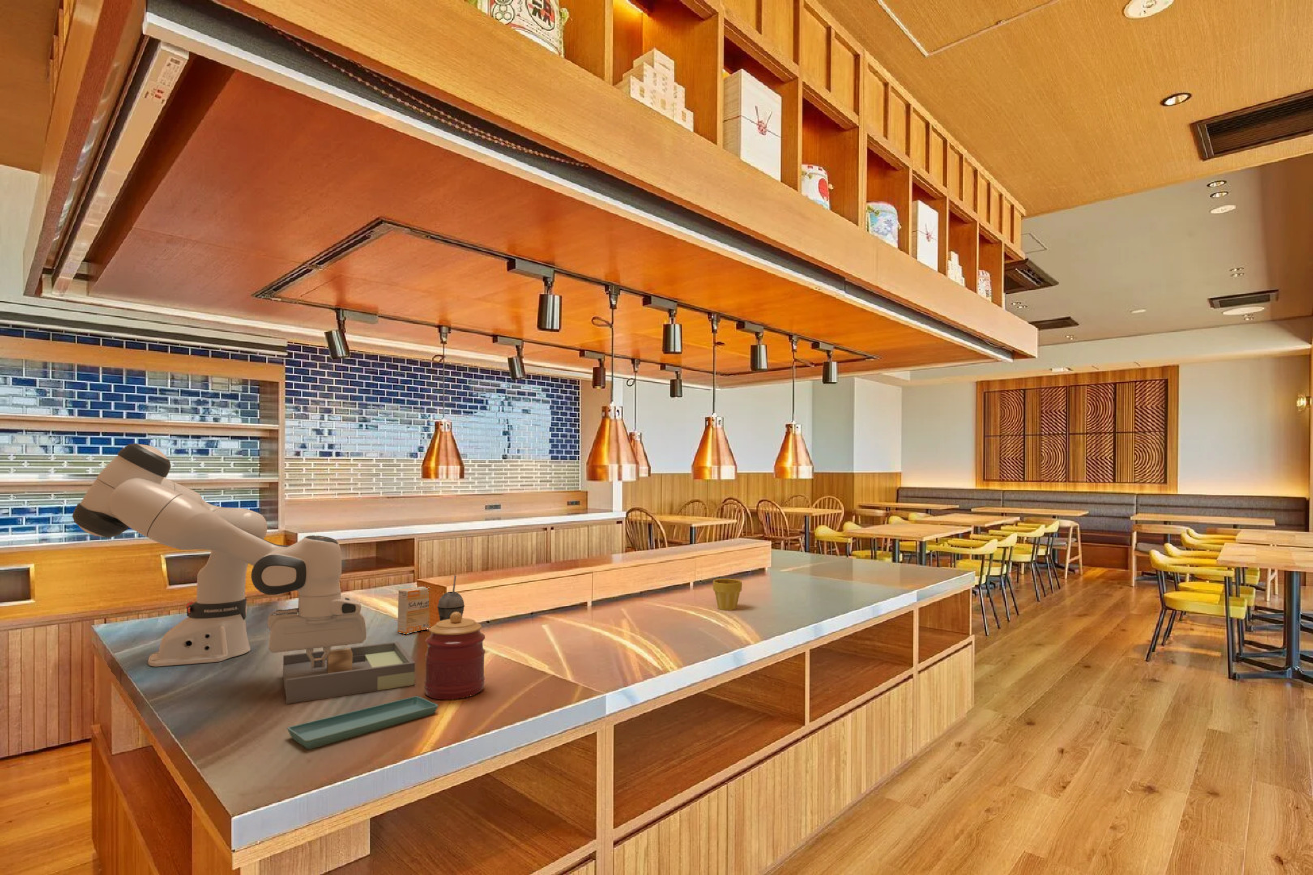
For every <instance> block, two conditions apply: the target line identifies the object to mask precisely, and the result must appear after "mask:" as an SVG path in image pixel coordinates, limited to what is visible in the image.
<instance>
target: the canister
mask: <svg viewBox="0 0 1313 875" xmlns="http://www.w3.org/2000/svg"><path fill="white" fill-rule="evenodd" d="M481 629H482V624H480V623H478V622H476V620H474V619H473V618H463V614H462V615H461V613H459V612H453V613H452V614H451V616H450V619H447V620H442V621H440V620H439V621H437V622H436V623H435V624H434V625H432V626H431V627H429V632H430V633H431V634H430V635H429V636H427V637H426V638H425V641H424V642H425V643H426V645H427V652H426V653H425V654H424V659H425V681H424V690H425V695H426V696H428V697H429V698H431V699H435V700H445V701H446V700H447V701H449V700H460V699H459V698H461V699H464V698H463V697H466V698H468V697H467V696H470V695H473V696H475V695H474V694H476V695H478V694H479V693H478V692H480V691H481V690H482V689H483V690H484V686H485V682H486V681H485V654H486V650H485V648H484V641H485V639H486V635H485V634H484V633H483V632H482V631H480V630H481ZM483 690H482V691H483ZM482 691H481V692H482ZM481 692H480V693H481ZM477 693H478V694H477ZM470 697H471V696H470Z"/></svg>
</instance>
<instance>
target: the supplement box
mask: <svg viewBox="0 0 1313 875" xmlns="http://www.w3.org/2000/svg"><path fill="white" fill-rule="evenodd" d="M428 588H429V587H428ZM428 588H426V586H418V587H411V588H405V589H398V597H397V598H398V599H397V600H398V602H397V633H398V632H401V633H405V634H407V633H410V632H414V631H420V630H425V629H427V628H429V629H430V611H429V595H428V594H429V592H428V591H429V590H428ZM428 621H429V623H428Z"/></svg>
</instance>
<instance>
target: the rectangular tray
mask: <svg viewBox="0 0 1313 875" xmlns="http://www.w3.org/2000/svg"><path fill="white" fill-rule="evenodd" d="M438 707H439V704H437V703H435V702H432V701H430V700H428V699H426V698H423V697H421V696H420V695H419V696H417V695H415V696H410V697H406V698H401V699H397V700H394V701H391V702H386V703H382V704H377V705H374V706H370V707H365V708H362V709H358V710H353V711H348V712H345V713H341V714H337V715H333V716H329V717H324V718H321V719H316V720H313V721H308V722H304V723H301V724H296V725H292V726H288V727H287V728H286V729H287V731H288V733H289V735H290V736H291V739H293V740H294V741H295V742H297V743H299V744H300V745H302V746H303V747H304V748H306V749H307V750H311V749H312V750H313V749H316V748H318V747H322V746H326V745H328V744H332V743H337V742H340V741H344V740H346V739H351V738H353V737H358V736H362V735H365V734H367V733H370V732H371V733H372V732H375V731H378V730H383V729H386V728H389V727H393V726H395V725H396V726H397V725H398V724H399V725H400V724H403V723H406V722H409V721H413V720H416V719H420V718H423V717H427V716H432V715H433V714H435V713H436V711H437V709H438Z"/></svg>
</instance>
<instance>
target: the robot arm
mask: <svg viewBox="0 0 1313 875" xmlns="http://www.w3.org/2000/svg"><path fill="white" fill-rule="evenodd" d="M171 466H172V465H171V461H170V459H169V458H167V456H166V455H165V454H164V453H163V452H162V451H161V450H160V449H157V448H156V447H154V446H152V445H147V444H141V443H140V444H139V443H136V442H135V443H130V444H127V445H125V447H123V448H121V450H119V451H118V452H117V455H116V456H115V457H114V458H113V459H112V460H111V461H110V462H109V463H108V464H107V465H106V466H105V467H104V468H103V469H102V471H101V472H99V474H98V475H97V476H96V479H95V480H94V482H93V483H92V485H91V486H89V489H88V490H87V491H86V493H85V495H84V496H83V498H82V500H81V502H78V503H77V505H76V506H75V507H74V508H75V509H74V510H73V513H72V519H73V522H74V523H75V524H76V525H77V526H79V527H78V528H80V529H81V530H83V531H84V532H85V533H86V534H87V533H88V534H90V535H92V536H95V537H103V538H109V539H110V538H113V537H117V536H120V535H121V534H123V533H124V532H127V530H129V528H130V529H131V530H133V531H135V532H137V533H138V534H141V535H142V536H144V537H146V538H148V539H150V540H152V541H154V542H156V543H159V544H161V545H163V546H166V547H171V548H172V549H173V548H174V549H177V550H181V551H193V550H194V551H195V550H197V551H199V550H200V551H201V550H208V551H209V550H210V555H209V556H208V557H209V558H208V560H207V562H206V564H204V566H203V567H201V568H200V570H199V571H198V573H197V575H196V576H197V577H196V579H197V580H196V601H189V602H187V604H186V605H185V608H186V618H185V619H183V620H182V621H180V622H178V624H176V625H175V626H174V627H172V628H171V629H169V630H168V631H166V633H165V634H164V635H163V636H162V639H161V640H160V643H159V648H158V651H155V652H154V653H152V654H150V656H149V657H148V661H147V664H148V666H151V667H165V666H167V667H168V666H179V665H191V664H193V665H194V664H204V663H205V664H206V663H217V662H222V661H225V660H227V659H230V658H234V657H237V656H241V655H244V654H247V653H248V652H250V651H251V646H250V642H249V638H248V634H247V633H248V632H247V627H246V625H247V624H246V619H247V615H248V602H247V600H248V599H247V598H246V582H247V581H246V580H247V571H248V565H250V566H253V567H252V570H251V573H250V576H251V582H252V585H253V587H254V588H255V589H256V590H257V591H258V592H260V593H262V594H265V595H267V596H268V595H269V596H278V595H279V596H280V595H283V594H285V593H290V592H294V591H295V592H298V605H297V606H298V607H294V608H288V609H276V610H275V611H274V612H272V613H270V614H269V615H268V618H267V628H268V629H269V631H270V632H269V637H268V650H269V651H270V652H271V653H272V654H275V653H277V654H278V653H284V652H293V651H302V650H303V651H305V653H306V654H307V656H308V657H309V659H310V660H311V668H318V667H325V659H326V658H327V656H328V654H329V653H330V650H331V647H339V646H348V645H356V644H363V643H365V641H366V639H367V627H366V620H365V618H364V615H363V614H362V612H361V611H362V604H361V602H360V601H359V600H357V599H354V598H349V597H344V596H342V590H341V586H340V579H341V576H342V564H343V563H342V551H341V549H342V548H341V546H340V544H339V542H338V541H337V540H336V539H334V538H332V537H328V536H325V535H307V536H304V537H303V538H302V539H300V540H299V541H297V542H295V543H293V544H291V545H287V544H286V545H284V544H283V545H282V544H278V543H273V542H270V541H268V540H266V539H265V538H266V535H267V533H268V532H267V531H268V522H267V521H266V518H265V517H264V515H263V514H261V513H260V512H257V511H254V510H251V509H247V508H242V507H239V508H238V507H225V506H224V507H223V506H218V505H213V504H211V503H209V502H207V501H206V500H204V499H202V496H201V495H200V493H199V492H197V491H195V490H193V489H191V488H188V487H187V486H184V485H182V484H179V483H177V482H175V481H173V480H171V479H169V478H167V477H168V474H169V473H170V470H171V468H172V467H171ZM321 648H322V649H323V650H322V651H324V654H323V656H322V657H321V658H316V659H314V657H313V656H312V654H311V653H313V652H314V649H321Z"/></svg>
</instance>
